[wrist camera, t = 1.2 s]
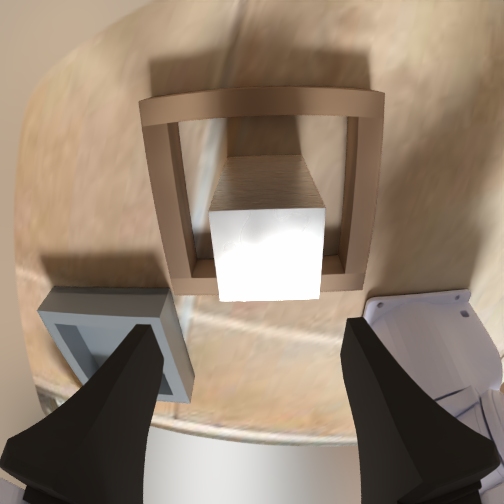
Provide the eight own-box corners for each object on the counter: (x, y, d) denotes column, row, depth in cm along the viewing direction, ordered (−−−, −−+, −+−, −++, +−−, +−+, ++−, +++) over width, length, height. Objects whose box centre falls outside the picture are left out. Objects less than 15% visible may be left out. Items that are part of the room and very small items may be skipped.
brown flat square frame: (371, 89, 14) (384, 92, 13) (355, 271, 20) (362, 289, 19) (151, 97, 15) (138, 101, 13) (181, 276, 21) (174, 295, 19)
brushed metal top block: (301, 154, 17) (325, 207, 11) (300, 220, 19) (318, 298, 13) (227, 157, 17) (208, 211, 11) (232, 222, 19) (220, 301, 13)
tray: (169, 287, 22) (159, 317, 19) (194, 376, 27) (190, 403, 25) (53, 286, 22) (36, 310, 20) (96, 367, 28) (87, 391, 25)
